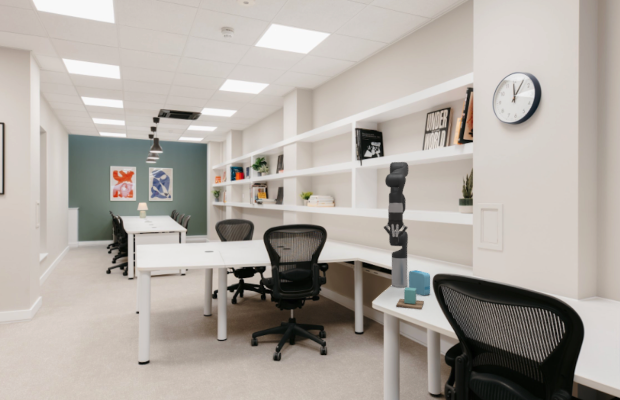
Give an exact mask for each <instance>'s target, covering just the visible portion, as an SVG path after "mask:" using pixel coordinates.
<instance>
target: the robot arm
mask: <svg viewBox="0 0 620 400" xmlns="http://www.w3.org/2000/svg"><path fill="white" fill-rule="evenodd" d="M408 174H409V164H408V163H407V162H405V161H397V162H396V161H394V162H391V163H390V165H389V173H388V174H387V175H386V177H385V179H384V181H385V186H387V187H388V188H390V191H389V194H388V209H387V211H388V221H387V224H386V225H385V226H383V229H384V230H385V232H386V233H387V234H388V236H389V238H388V241H389V242H388V243H389V245H390V246H391V247H401V248H400V249H399V250H395V251H392V252H391V286H392V287H395V288H406V287H407V288H408V243H409V235H408V232H407V229H408V226H406V225H405V223H404V220H403V219H404V215H403V214H404V213H405V211H406V197H405V195H404V188H405V185H406V181H407V178H406V177H408ZM401 229H402V230H401Z"/></svg>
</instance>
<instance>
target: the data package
mask: <svg viewBox="0 0 620 400" xmlns="http://www.w3.org/2000/svg"><path fill="white" fill-rule="evenodd" d="M408 288H416V295H419V296H428V295H430V294H431V274H430V273H429V272H425V271H422V270H418V269H417V270H410V271H409V272H408Z"/></svg>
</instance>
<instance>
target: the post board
mask: <svg viewBox="0 0 620 400" xmlns="http://www.w3.org/2000/svg"><path fill="white" fill-rule="evenodd" d="M424 301H425V300H420V299H419V300H417V299H416V303H415V304H410V303H404V298H399V300H398V301H397V303H396V305H395V307H396V308H403V309H411V310H412V309H414V310H423V306H424V305H425V304H424Z"/></svg>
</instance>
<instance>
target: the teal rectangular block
mask: <svg viewBox="0 0 620 400" xmlns="http://www.w3.org/2000/svg"><path fill="white" fill-rule="evenodd" d="M403 292H404V294H403V295H404V298H403V299H404V303H410V304H415V303H416V300H417V294H416V288H409V287H408V286H407V287H404V290H403Z"/></svg>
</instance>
